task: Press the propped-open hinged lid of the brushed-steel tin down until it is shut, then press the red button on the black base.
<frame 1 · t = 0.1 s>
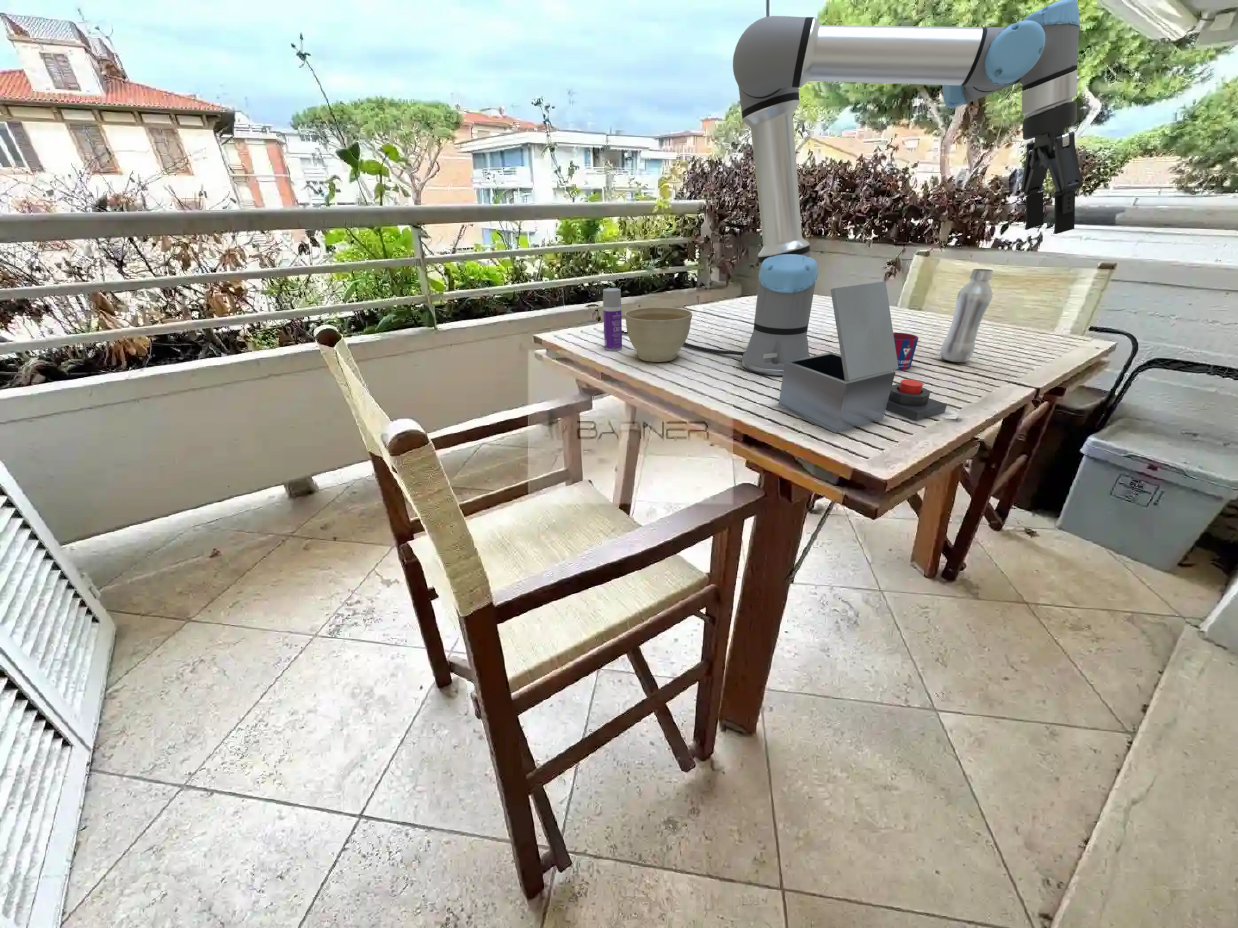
hand: (1048, 229, 97), 28 cm above the table, tool tilted 20°, fingers open, 13 cm apart
planter bowl: (657, 358, 121), on the table
tin: (828, 413, 88), on the table
silver metal bottle: (953, 361, 113), on the table
mug: (889, 364, 113), on the table
lid: (865, 330, 77), point 16 cm above the table, hinge at 65.0°
button: (910, 387, 87), point 4 cm above the table, slide at 0.2 cm
container: (613, 349, 129), on the table
button base: (904, 407, 89), on the table
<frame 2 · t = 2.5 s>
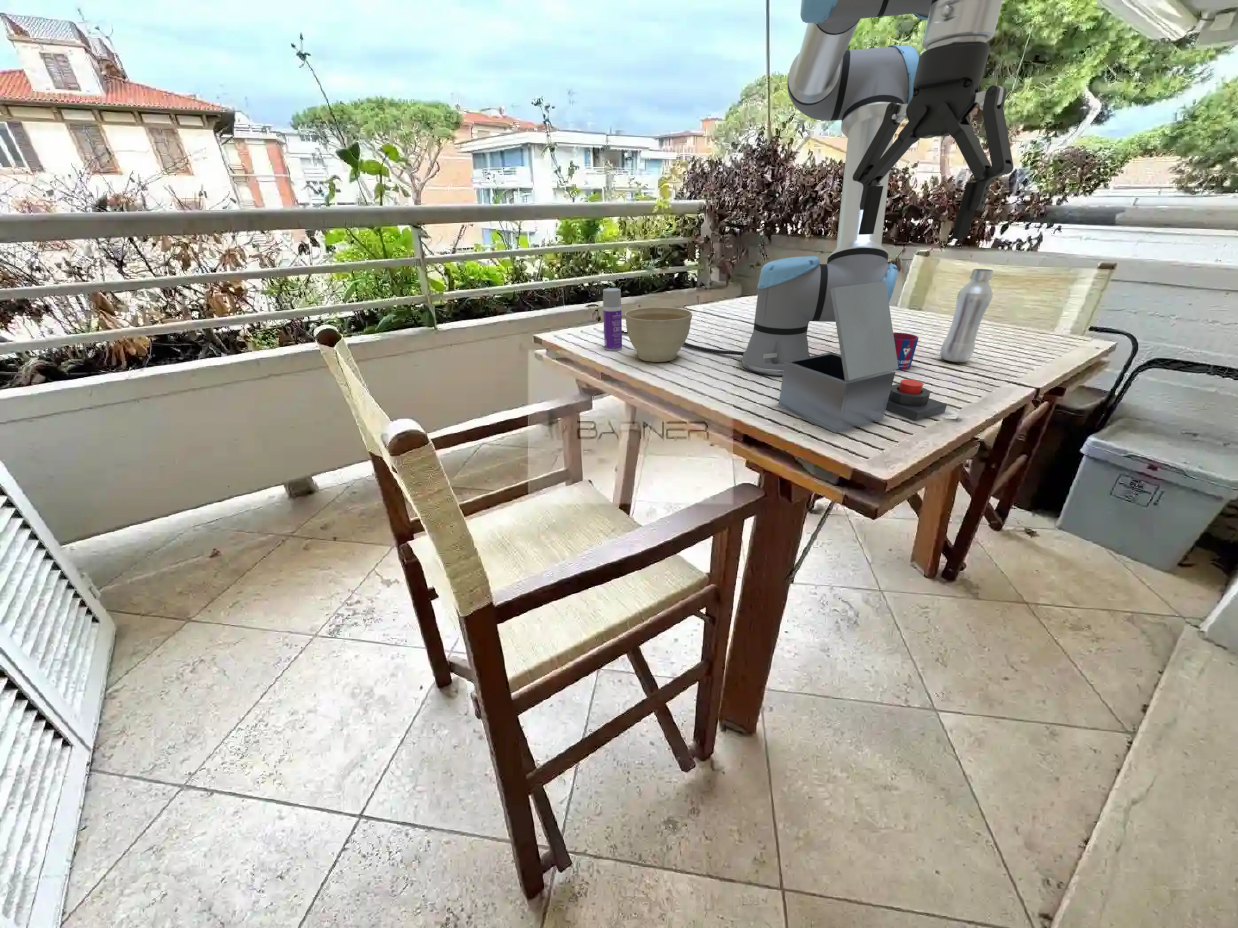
hand: (909, 236, 70), 29 cm above the table, tool pointing down, fingers open, 13 cm apart
nothing on the table moved.
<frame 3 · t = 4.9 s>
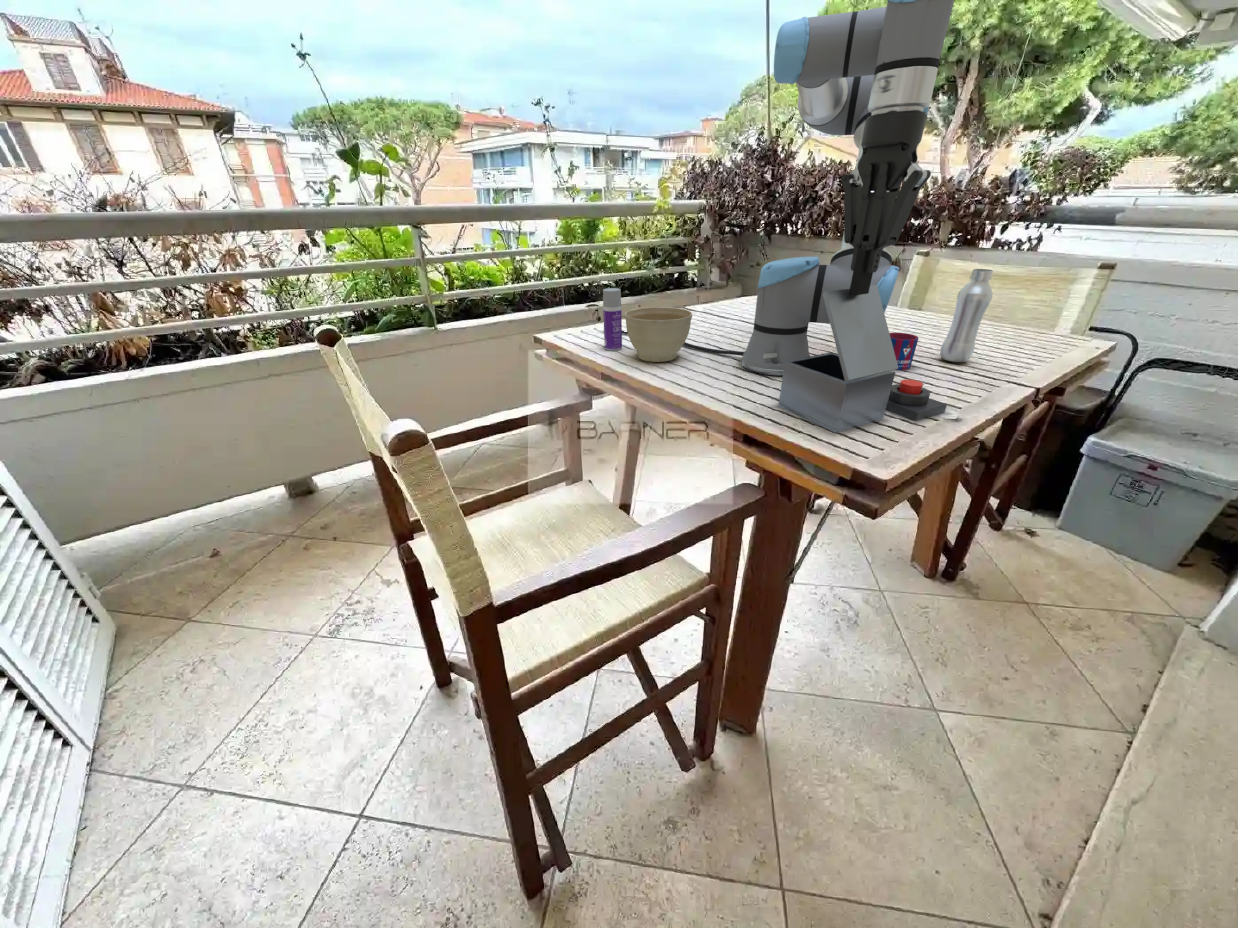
hand: (858, 293, 77), 21 cm above the table, tool pointing down, fingers closed
lid: (861, 332, 78), point 15 cm above the table, hinge at 58.5°, touching gripper
everything else where it was.
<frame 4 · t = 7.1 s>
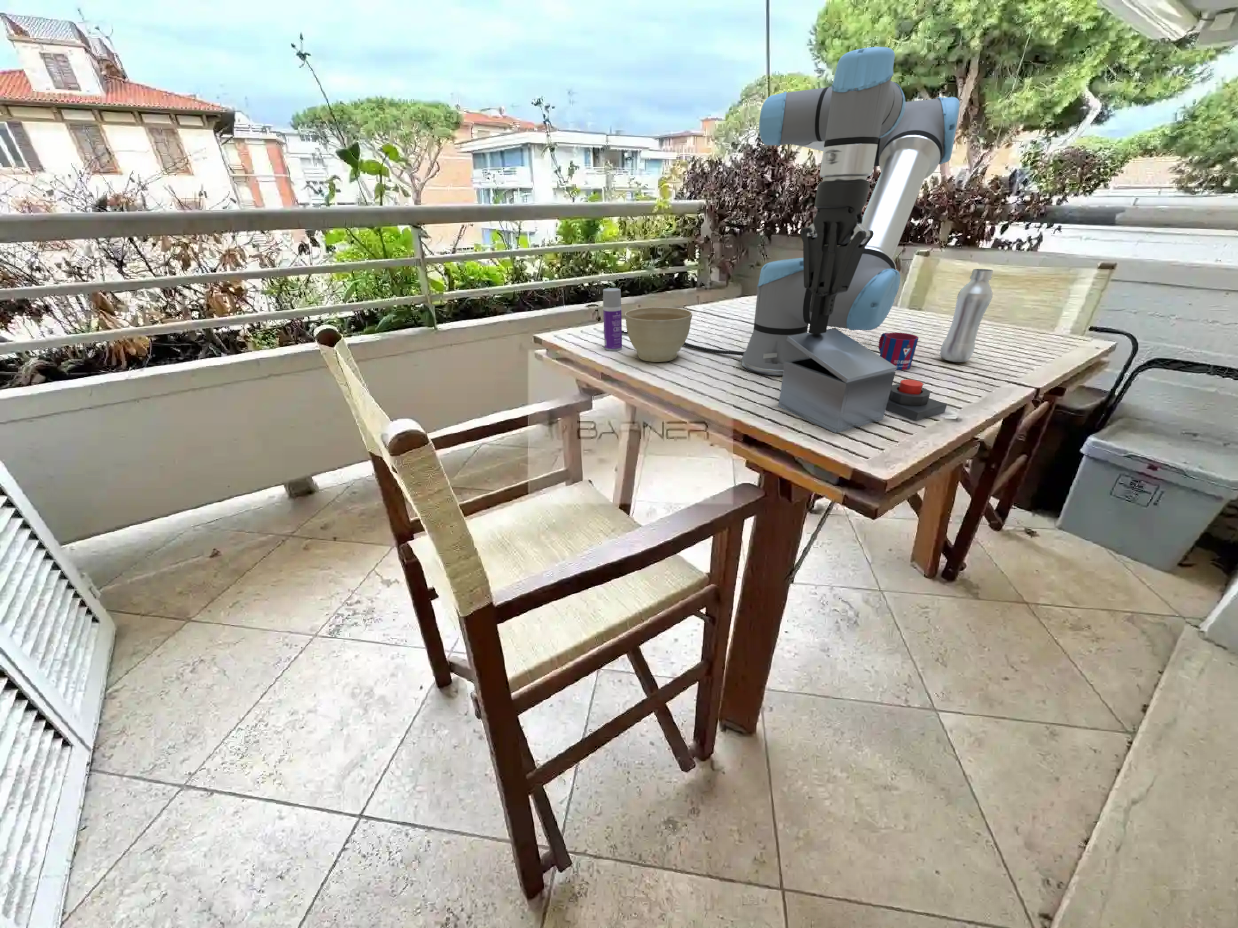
hand: (817, 332, 86), 13 cm above the table, tool pointing down, fingers closed
lid: (840, 353, 83), point 11 cm above the table, hinge at 14.9°, touching gripper
everything else where it was.
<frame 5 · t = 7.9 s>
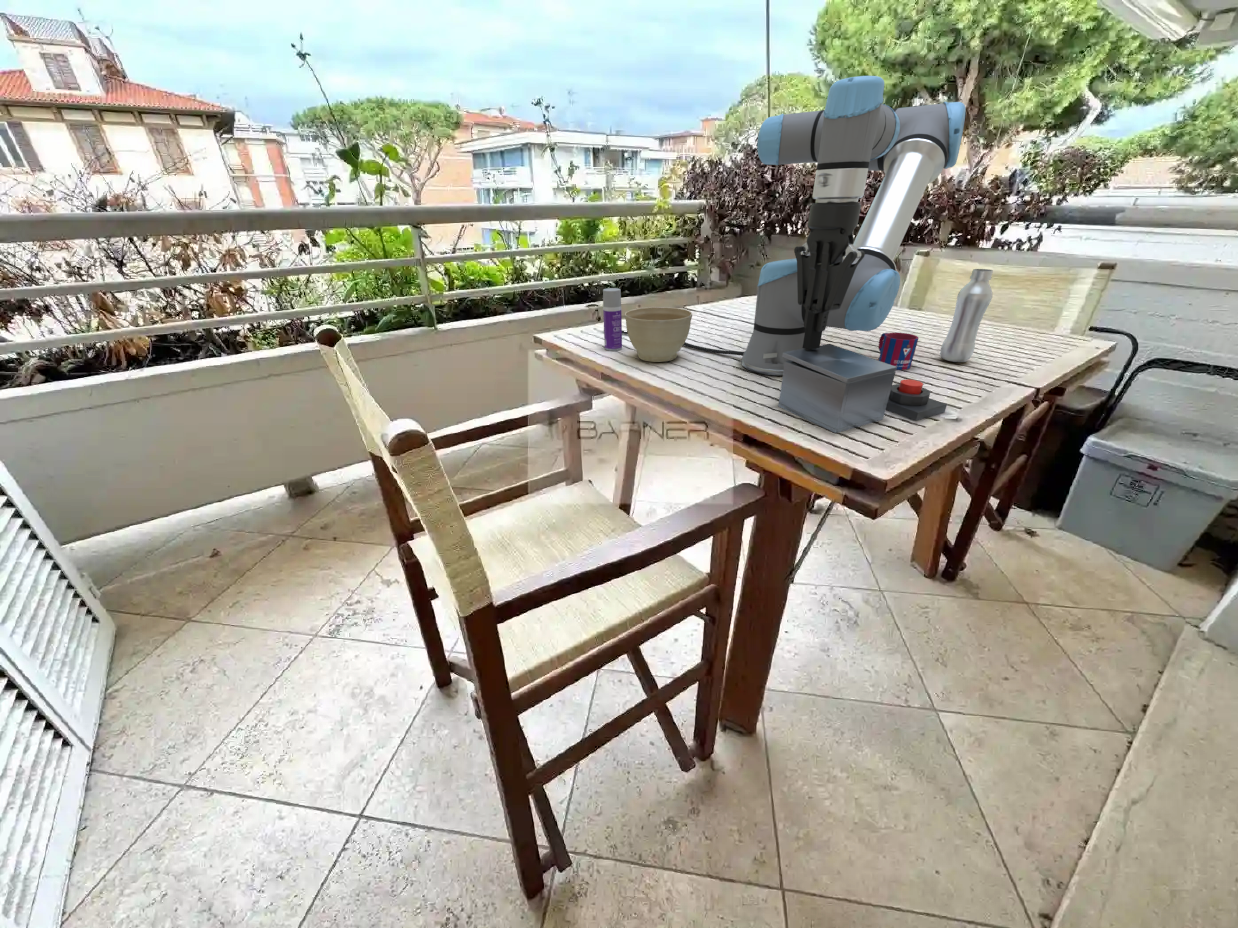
hand: (810, 347, 88), 11 cm above the table, tool pointing down, fingers closed
lid: (837, 361, 84), point 10 cm above the table, hinge at 2.4°, touching gripper
everything else where it was.
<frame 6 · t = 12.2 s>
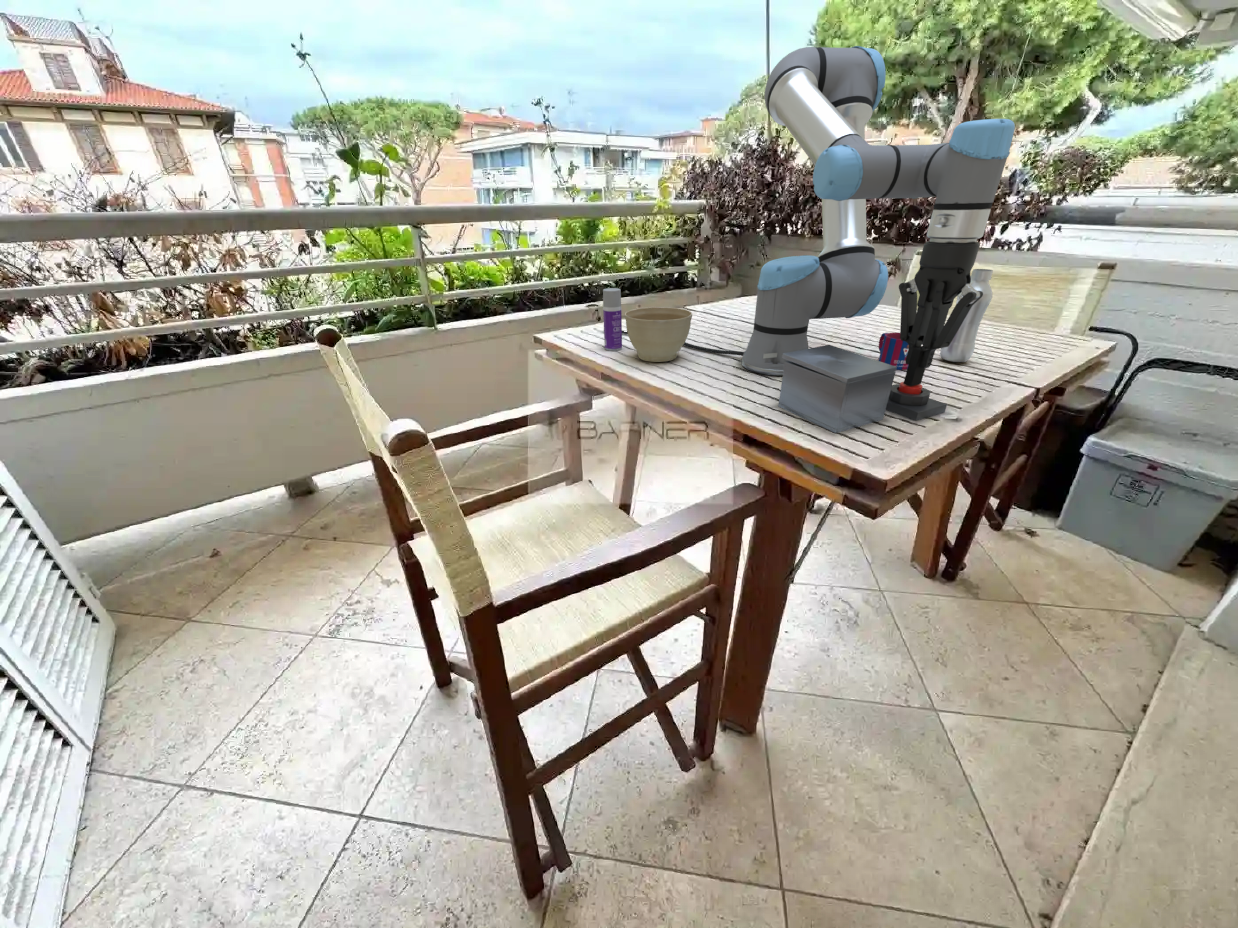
hand: (912, 383, 87), 5 cm above the table, tool pointing down, fingers closed
lid: (837, 362, 84), point 9 cm above the table, hinge at 1.7°
button: (909, 389, 88), point 4 cm above the table, slide at -0.2 cm, touching gripper
everything else where it was.
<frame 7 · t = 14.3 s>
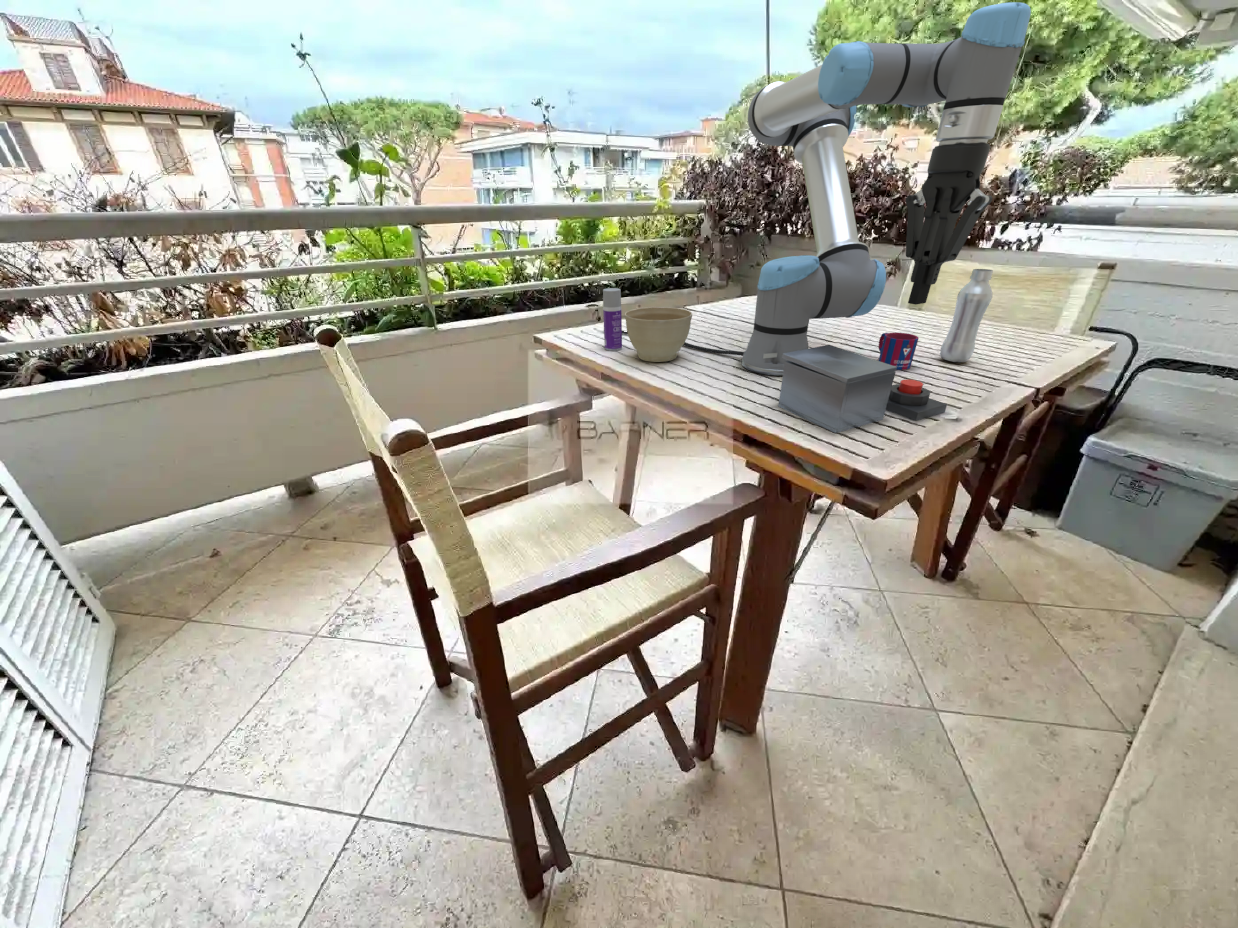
hand: (916, 302, 85), 18 cm above the table, tool pointing down, fingers closed
button: (910, 387, 87), point 4 cm above the table, slide at 0.1 cm
everything else where it was.
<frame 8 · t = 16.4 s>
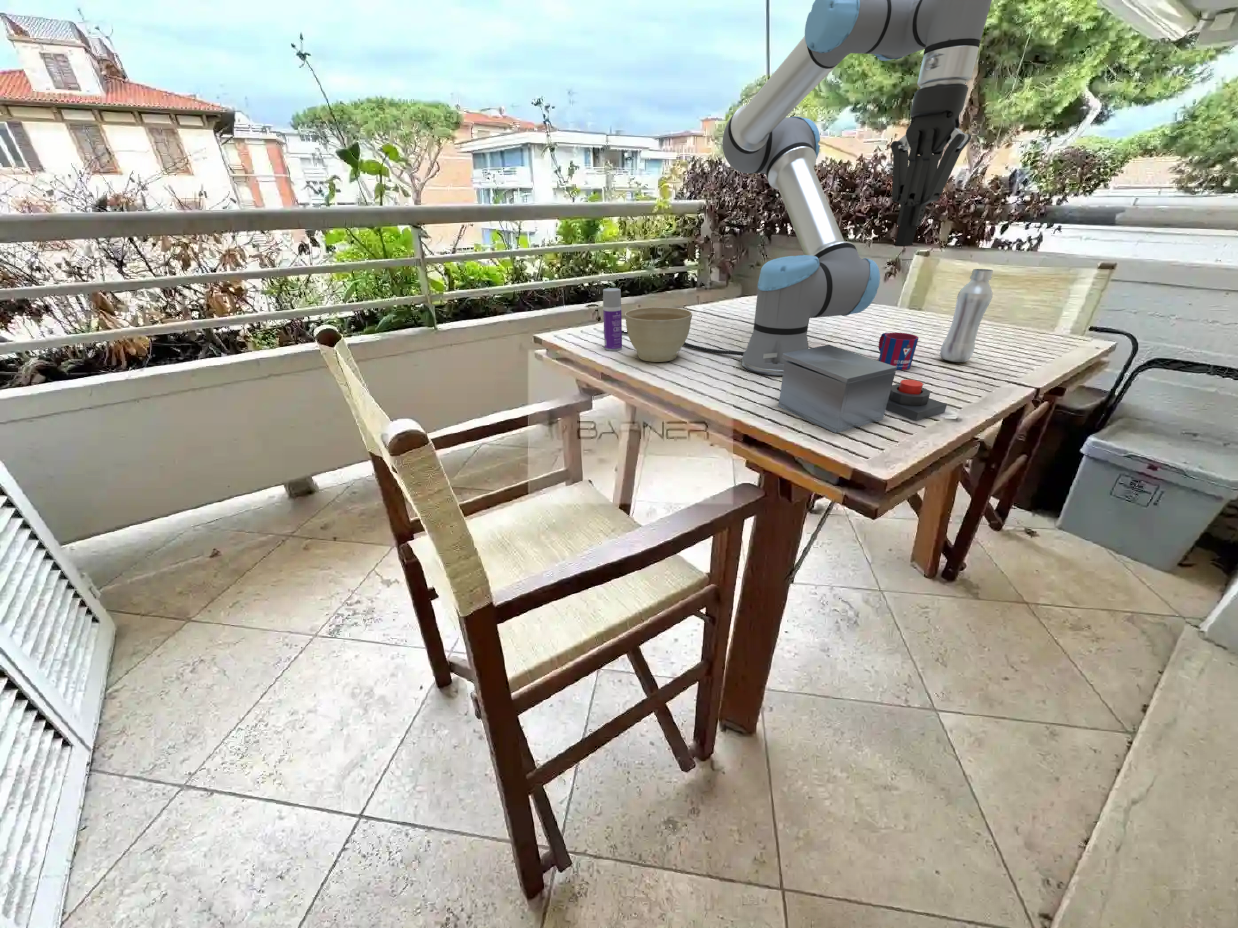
hand: (903, 245, 90), 26 cm above the table, tool pointing down, fingers closed
nothing on the table moved.
at the end: lid at +2° (first picture: +65°); button pushed in 1.0 cm at the most during the clip, back to where it started at the end; button slide at 0.1 cm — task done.
